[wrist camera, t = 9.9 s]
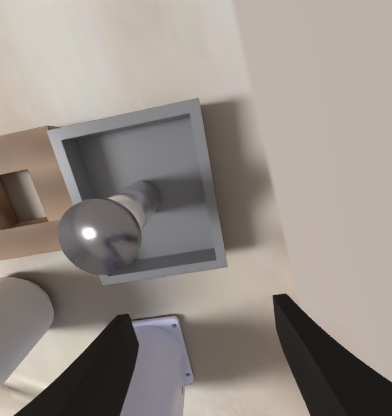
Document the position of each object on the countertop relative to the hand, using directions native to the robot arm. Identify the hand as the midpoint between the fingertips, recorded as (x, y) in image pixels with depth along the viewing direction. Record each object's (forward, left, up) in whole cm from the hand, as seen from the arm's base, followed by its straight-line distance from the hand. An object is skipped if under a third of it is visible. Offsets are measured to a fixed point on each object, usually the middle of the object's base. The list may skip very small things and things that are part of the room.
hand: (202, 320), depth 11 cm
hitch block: (+7, +15, -10) cm, 19 cm away
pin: (+5, +4, -10) cm, 12 cm away
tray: (+5, +4, -10) cm, 12 cm away
